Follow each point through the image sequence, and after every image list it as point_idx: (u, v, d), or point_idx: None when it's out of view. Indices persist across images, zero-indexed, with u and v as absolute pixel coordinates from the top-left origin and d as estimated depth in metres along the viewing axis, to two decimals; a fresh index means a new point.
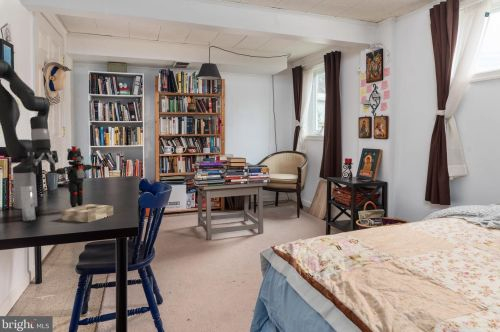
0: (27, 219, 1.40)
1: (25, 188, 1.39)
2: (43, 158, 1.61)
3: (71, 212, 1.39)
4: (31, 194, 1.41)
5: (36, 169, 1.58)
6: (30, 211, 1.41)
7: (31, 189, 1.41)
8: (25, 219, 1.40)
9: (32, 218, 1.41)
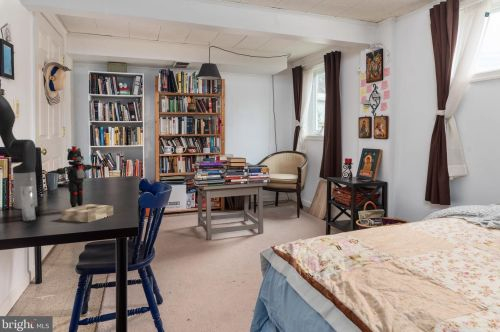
0: (27, 219, 1.40)
1: (25, 188, 1.39)
2: None
3: (71, 212, 1.39)
4: (31, 194, 1.41)
5: None
6: (30, 211, 1.41)
7: (31, 189, 1.41)
8: (25, 219, 1.40)
9: (32, 218, 1.41)
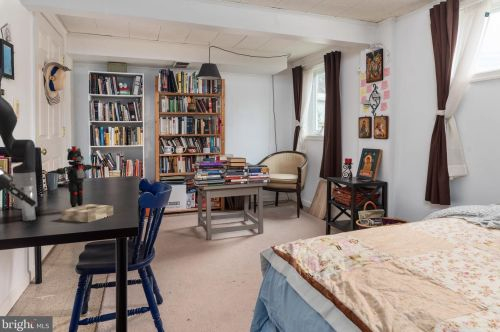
0: (27, 219, 1.40)
1: (25, 188, 1.39)
2: None
3: (71, 212, 1.39)
4: (31, 194, 1.41)
5: None
6: (30, 211, 1.41)
7: (31, 189, 1.41)
8: (25, 219, 1.40)
9: (32, 218, 1.41)
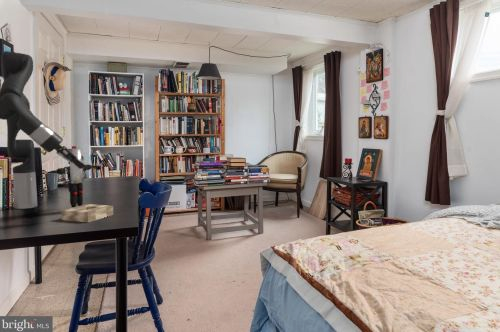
0: (75, 182, 1.39)
1: (74, 150, 1.38)
2: (63, 155, 1.38)
3: (71, 212, 1.39)
4: (80, 157, 1.40)
5: None
6: (78, 173, 1.39)
7: (79, 152, 1.40)
8: (73, 182, 1.39)
9: (80, 181, 1.40)
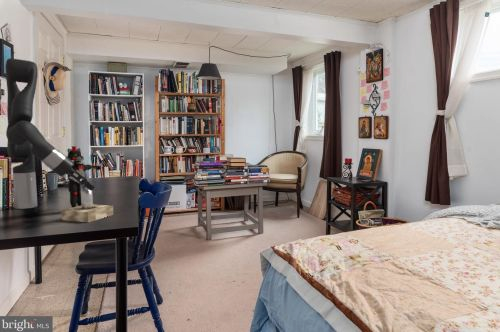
0: None
1: None
2: None
3: (71, 212, 1.39)
4: (91, 192, 1.44)
5: None
6: None
7: None
8: None
9: None
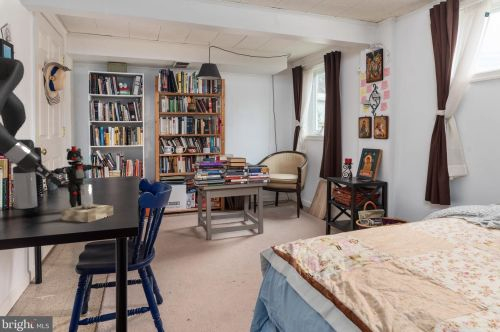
0: None
1: (85, 186, 1.42)
2: None
3: (71, 212, 1.39)
4: (91, 192, 1.44)
5: None
6: None
7: (90, 187, 1.43)
8: None
9: None
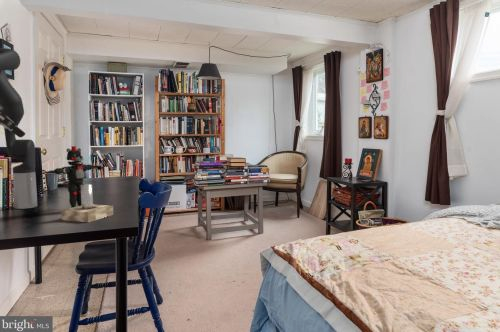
0: None
1: (85, 186, 1.42)
2: (4, 125, 1.33)
3: (71, 212, 1.39)
4: (91, 192, 1.44)
5: None
6: None
7: (90, 187, 1.43)
8: None
9: None
